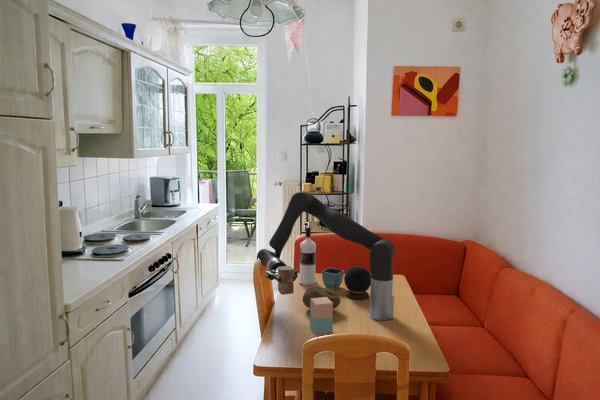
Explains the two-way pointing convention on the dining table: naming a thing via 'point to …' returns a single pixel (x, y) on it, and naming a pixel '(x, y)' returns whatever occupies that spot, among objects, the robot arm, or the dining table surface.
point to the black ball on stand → (357, 283)
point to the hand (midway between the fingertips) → (287, 279)
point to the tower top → (321, 308)
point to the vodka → (307, 260)
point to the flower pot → (332, 277)
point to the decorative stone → (318, 293)
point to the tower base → (321, 325)
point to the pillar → (285, 280)
